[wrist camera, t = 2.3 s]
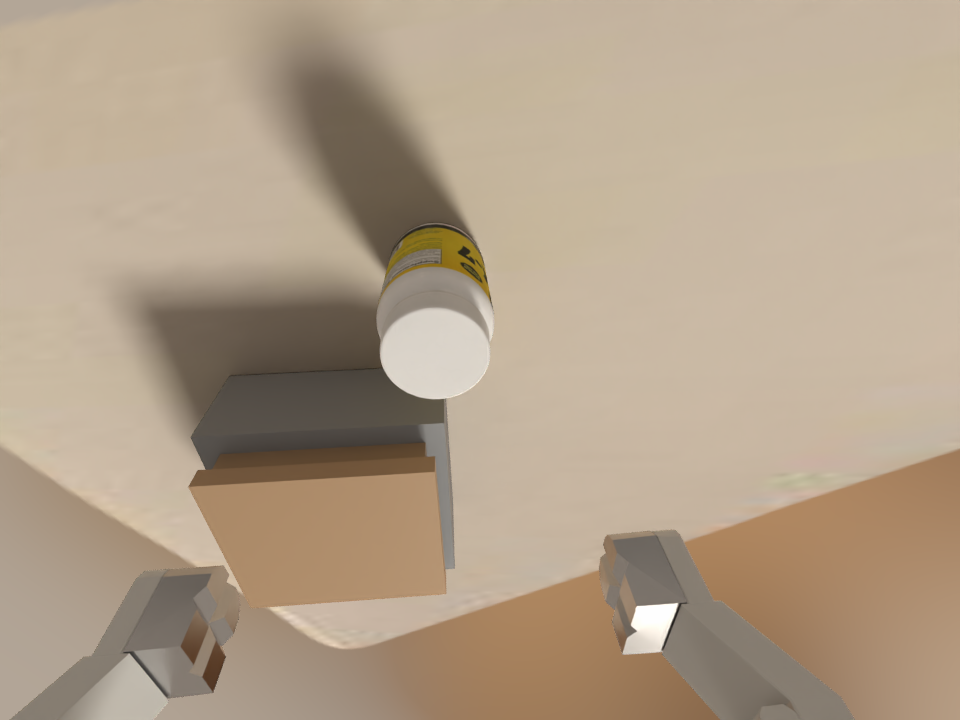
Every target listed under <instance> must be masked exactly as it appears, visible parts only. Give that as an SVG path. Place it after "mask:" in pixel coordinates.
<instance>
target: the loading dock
mask: <svg viewBox="0 0 960 720" xmlns="http://www.w3.org/2000/svg"><path fill="white" fill-rule="evenodd" d="M191 439H192V441H193V443H194V445H195V448H196V450H197V452H198V454H199V456H200V458H201V460H202V462H203V464H204V467H205V469H206V470H198V471H197V473H196V474H195V476H194V478H193V480H192V481H191V483H190V485H189V489H190V491H191V493H192V495H193V497H194V499H195V501H196V503H197V505H198V507H199V508H200V510H201V512H202V514H203V516H204V518H205V520H206V522H207V524H208V526H209V528H210V530H211V532H212V534H213V536H214V538H215V539H216V541H217V543H218V545H219V547H220V549H221V551H222V553H223V555H224V557H225V559H226V561H227V563H228V565H229V567H230V569H231V570H232V572H233V574H234V576H235V578H236V580H237V582H238V584H239V586H240V588H241V590H242V592H243V594H244V596H245V598H246V600H247V601H248V603H249V605H250V607H251V608H261V607H275V606H289V605H303V604H316V603H330V602H344V601H357V600H371V599H385V598H398V597H412V596H425V595H439V594H446V572H445V569H455V560H454V522H453V497H452V482H451V467H450V452H449V437H448V422H447V407H446V398H445V399H427V398H421V397H417V396H415V395H412V394H409V393H407V392H405V391H404V390H402V389H400V388H399V387H398V386H396V385H395V384H394V383H393V382H392V381H391V380H390V378H389V377H388V376H387V374H386V373H385V371H384V369H383V368H382V369H362V370H341V371H321V372H301V373H281V374H260V375H240V376H229V378H228V379H227V381H226V383H225V384H224V386H223V387H222V389H221V390H220V392H219V393H218V395H217V397H216V398H215V400H214V401H213V403H212V404H211V406H210V408H209V409H208V411H207V412H206V414H205V415H204V417H203V419H202V420H201V422H200V423H199V425H198V426H197V428H196V430H195V431H194V433H193V434H192V436H191Z"/></svg>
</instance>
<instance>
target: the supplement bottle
mask: <svg viewBox="0 0 960 720" xmlns="http://www.w3.org/2000/svg"><path fill="white" fill-rule="evenodd" d="M376 322H377V330H378V334H379V337H380V340H381V342H380V360H381V364H382V367H383V369H384V371H385V373H386V374H387V376H388V377H389V378H390V380H391V381H392V382H393V383H394V384H395V385H396V386H398V387H399V388H400V389H402V390H404V391H405V392H407V393H409V394H412V395H415V396H417V397H421V398H427V399H445V398H450V397H454V396H457V395H460V394H462V393H464V392H466V391H468V390H469V389H471V388H472V387H473V386H475V385H476V384H477V383H478V382H479V380H480V379H481V378H482V377H483V375H484V374H485V372H486V369H487V367H488V364H489V360H490V341H491V339H492V336H493V331H494V312H493V306H492V302H491V297H490V292H489V287H488V282H487V277H486V272H485V266H484V261H483V258H482V255H481V252H480V250H479V248H478V247H477V245H476V244H475V242H474V241H473V240H472V239H471V238H470V237H469V236H468V235H467V234H466V233H465V232H463V231H462V230H460V229H458V228H457V227H454V226H452V225H448V224H444V223H427V224H423V225H420V226H417V227H415V228H413V229H411V230H409V231H408V232H407V233H405V234H404V235H403V236H402V237H401V238H400V239H399V240H398V242H397V243H396V244H395V246H394V248H393V250H392V253H391V256H390V259H389V263H388V268H387V271H386V275H385V279H384V283H383V287H382V292H381V296H380V300H379V303H378V308H377V317H376Z"/></svg>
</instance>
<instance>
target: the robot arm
mask: <svg viewBox="0 0 960 720" xmlns="http://www.w3.org/2000/svg"><path fill="white" fill-rule="evenodd" d="M603 546H604V549H605V552H606V554H604V555H603V556H602V557H601V559H600V566H599V572H600V581H601V586H602V591H603V594H604V598H605V601H606V602H607V603H608V604H609V605H610V606H611V607H612V608H613V609H614V610H615V612H614V616H613V621H612V623H613V627H614V630H615V633H616V636H617V639H618V643H619V646H620V649H621V652H622V654H623V655H624V654H639V653H654V652H663V653H662V655H663V656H664V657H665V658H666V659H667V661H668V662H669V663H670V664H671V665H672V666H673V667H674V668H675V669H676V671H677V672H678V673H679V674H680V675H681V676H682V677H683V678H684V679H685V681H687V683H688V684H689V685H690V686H691V687H692V688H693V690H695V692H696V693H697V694H698V695H699V696H700V697H701V698H702V700H703V701H704V702H705V703H706V704H707V705H708V706H709V707H710V708H711V710H712V711H713V712H714V713H715V714H716V715H717V716H718V717H719V718H720V720H855V719H854V717H853V716H852V714H851V713H850V711H849V709H848V708H847V706H846V704H845V703H844V701H843V700H842V698H841V697H840V696H839V695H838V694H837V693H835V692H834V691H833V690H832V689H830V688H829V687H828V686H826V685H825V684H824V683H823V682H822V681H820V680H819V679H818V678H816V677H815V676H814V675H813V674H812V673H811V672H809V671H808V670H807V669H806V668H804V667H803V666H802V665H801V664H799V663H798V662H797V661H796V660H794V659H793V658H792V657H791V656H789V655H788V654H787V653H785V652H784V651H783V650H782V649H781V648H779V647H778V646H777V645H776V644H774V643H773V642H772V641H771V640H769V639H768V638H767V637H766V636H764V635H763V634H762V633H761V632H759V631H758V630H757V629H756V628H754V627H753V626H752V625H751V624H749V623H748V622H747V621H746V620H744V619H743V618H742V617H741V616H740V615H738V614H737V613H736V612H735V611H733V610H732V609H731V608H729V607H728V606H727V605H726V604H725V603H723V602H722V601H714V600H713V598H712V596H711V594H710V592H709V590H708V588H707V586H706V584H705V582H704V580H703V578H702V576H701V574H700V573H699V571H698V569H697V567H696V565H695V563H694V561H693V559H692V557H691V555H690V553H689V551H688V549H687V547H686V546H685V543H684V542H683V540H682V538H681V536H680V534H679V533H678V532H677V531H676V530H672V529H671V530H661V531H643V532H632V533H622V534H611V535H607V536H606V537H605V540H604V544H603ZM228 577H229V574H228V572H227V570H226V569H225V567H224V566H211V567H196V568H182V569H163V570H151V571H144V572H143V573H142V574H141V575H140V576H139V577H138V578H136V580H135V581H134V583H133V585H132V586H131V588H130V590H129V592H128V593H127V595H126V597H125V599H124V600H123V602H122V604H121V606H120V607H119V609H118V611H117V613H116V615H115V616H114V618H113V620H112V622H111V623H110V625H109V627H108V629H107V630H106V632H105V634H104V635H103V637H102V639H101V641H100V643H99V644H98V646H97V648H96V649H95V651H94V653H93V655H92V656H87V657H83V658H82V659H81V660H80V661H78V662H77V663H76V664H75V665H74V666H73V667H71V668H70V669H69V670H68V671H67V672H65V673H64V674H63V675H62V676H61V677H59V678H58V679H57V680H56V681H55V682H54V683H52V684H51V685H50V686H49V687H48V688H47V689H45V690H44V691H43V692H42V693H41V694H40V695H38V696H37V697H36V698H35V699H34V700H32V701H31V702H30V703H29V704H28V705H27V706H25V707H24V708H23V709H22V710H21V711H19V712H18V713H17V714H16V715H15V716H14V717H13V718H12V719H10V720H154V719H155V717H156V716H157V715H158V714H159V713H160V711H161V710H162V709H163V708H164V707H165V705H166V704H167V703H168V701H169V700H168V698H176V697H184V696H193V695H200V694H209V693H213V692H214V689H215V687H216V684H217V681H218V678H219V675H220V672H221V670H222V667H223V663H224V661H225V658H226V656H225V653H224V650H223V647H222V645H224V643H226V641H227V640H228V639H229V638H230V637H231V636H232V635H233V634H234V632H235V629H236V626H237V623H238V620H239V612H240V599H239V593H238V591H237V589H236V587H234V586H232V585H230V584H228V583H227V579H228Z"/></svg>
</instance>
